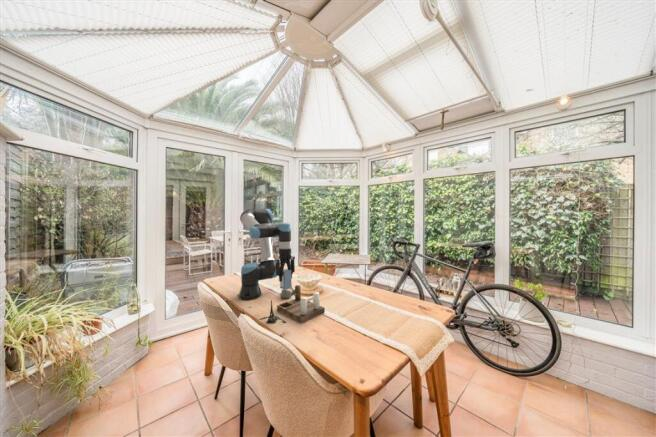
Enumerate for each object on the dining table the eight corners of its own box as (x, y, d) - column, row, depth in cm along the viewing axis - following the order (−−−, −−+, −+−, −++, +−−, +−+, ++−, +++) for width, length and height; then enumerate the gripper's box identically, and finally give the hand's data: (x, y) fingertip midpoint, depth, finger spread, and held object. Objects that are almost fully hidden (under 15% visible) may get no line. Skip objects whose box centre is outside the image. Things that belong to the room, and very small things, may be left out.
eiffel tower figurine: (287, 323, 133) (287, 300, 132) (271, 330, 126) (271, 305, 125) (273, 314, 144) (273, 293, 143) (258, 320, 137) (257, 297, 136)
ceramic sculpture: (277, 287, 165) (283, 281, 180) (277, 299, 165) (283, 292, 180) (293, 287, 164) (297, 281, 179) (292, 299, 164) (297, 293, 179)
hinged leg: (316, 306, 146) (316, 291, 146) (320, 307, 144) (320, 293, 143) (299, 313, 136) (299, 298, 136) (303, 315, 134) (303, 299, 133)
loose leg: (280, 287, 148) (279, 270, 147) (286, 285, 151) (286, 268, 151) (284, 289, 144) (284, 271, 144) (291, 287, 148) (291, 270, 147)
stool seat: (277, 310, 149) (276, 291, 148) (299, 301, 161) (299, 284, 161) (301, 323, 132) (301, 302, 131) (324, 312, 145) (324, 293, 144)
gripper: (293, 245, 155) (293, 280, 157) (268, 249, 143) (269, 287, 144) (300, 246, 150) (300, 282, 152) (276, 250, 137) (276, 290, 139)
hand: (285, 285), depth 148 cm, fingers closed on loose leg, 5 cm apart
